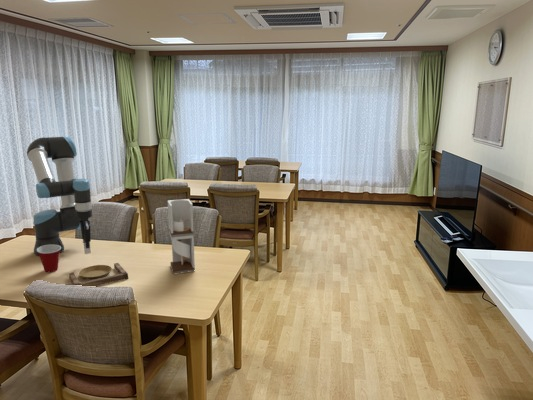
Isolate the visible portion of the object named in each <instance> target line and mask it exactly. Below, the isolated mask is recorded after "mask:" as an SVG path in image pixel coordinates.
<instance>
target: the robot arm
mask: <svg viewBox="0 0 533 400" xmlns="http://www.w3.org/2000/svg"><path fill="white" fill-rule="evenodd" d="M26 154H27V158H28V161H30V162H31V164H32V168H33V170H34V174H35V177H36V180H37V182H38V183H36V185H35V192H36V196H37V198H39V199H49V198H56V197H57V198H58V197H60V199H61V200H60V201H61V205H60V207H59V211H58V210H56V209H53V208H52V209H46V210H45V209H44V210H41V211H39V212H36V213H35V214H34V216H32V219H33V220H32V221H33V223H32V224H33V226H34V227H33V228H34V236H35V241H34V242H35V244H34V247H33V254H34V255H35V256H38V257H40V256H39V254H38V252H37V250H36V249H37V248H39V247H40V246H44V245H59V246H61V249H60V253H62V252H64V251H65V244H64V243H63V240H62V239H61V237H60V233H63V232H69V231H75V230H76V231H77V230H80V229H81V230H80V231H81V238H82V243H83V251H84V255H88V254H91V241H92V239H91V225H90V224H91V221H90V220H89V219H90V218H92V217H93V210H92V207H93V206H92V199H91V198H92V197H91V185H90V180H89V179H87V178H75V173H74V167H73V162H74V161H75V158H76V157H77V155H78V154H77V147H76V144H75V141H74V140H73V138H72V137H69V136H50V137H49V136H47V137H46V136H45V137H39V138H36V139H34V140H33V141H32V142H31V143H30V144H29V145H28V147H27V151H26ZM48 159H51V162H52V163H54V165H55V167H56V168H55V169H56V174H57V175H56V176H57V181H56V179H55V177H54V174H53V170H52V167H51V165H50V163H49V160H48Z"/></svg>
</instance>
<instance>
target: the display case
mask: <svg viewBox="0 0 533 400" xmlns="http://www.w3.org/2000/svg"><path fill="white" fill-rule="evenodd" d="M167 215H168V217H167V218H168V234H169V236H170V239H171V251H172V252H171V253H172V261H170V267H171V271H172V274H173V275H175V274H174V273H178V274H182V273H181V272H186V273H189V272H188V271H194V270H195V269H196V268H195V266H196V265H195V240H194V239H195V236H194V209H193V202H192V201H191V200H190V199H189V198H184V199H172V200H171V199H169V200H167ZM195 271H196V270H195ZM195 271H194V272H195Z"/></svg>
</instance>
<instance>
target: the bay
mask: <svg viewBox="0 0 533 400" xmlns="http://www.w3.org/2000/svg"><path fill="white" fill-rule="evenodd" d="M113 266H114V267H113V268H114V270H115V271H117V274H113V275H109V276H108V275H107V276H105V277H103V278H99V279H95V280H87V281H82V282H80V281H79V279H78V278H77V276H76V274H75V273H74V272H68V278H69V280H70V281H71V284H72V286H73V285H82V286H95V287H98V286H103V285H106V284H110V283H116V282H120V281H123V280H127V279H129V273H128V272H127V271H126V270H125V269H124V268H123V266H122V265H121V264H120V263H119V262H114V263H113Z"/></svg>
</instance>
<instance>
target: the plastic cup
mask: <svg viewBox="0 0 533 400" xmlns="http://www.w3.org/2000/svg"><path fill="white" fill-rule="evenodd" d="M60 249H61V246H59V245H44V246H40V247H39V248H37V249H36V250H37V252H38V254H39V256H38V257H39V259H40V261H41V264H42V268H43V270H44V272H45V273H53V272H56V271H58V269H59V263H60V262H59V261H60V253H61V252H60Z"/></svg>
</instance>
